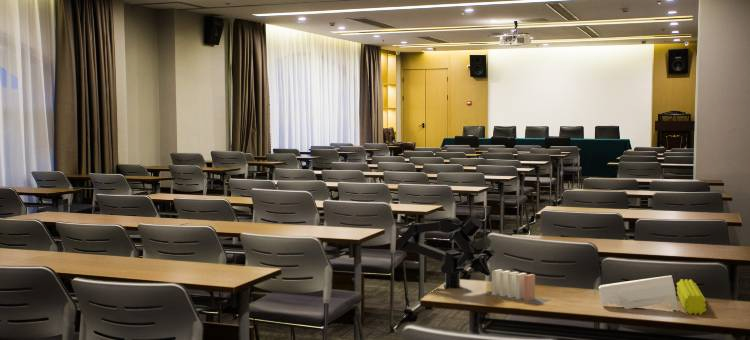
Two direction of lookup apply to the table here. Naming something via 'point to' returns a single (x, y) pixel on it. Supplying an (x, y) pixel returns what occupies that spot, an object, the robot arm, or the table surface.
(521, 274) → the tile
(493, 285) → the tile
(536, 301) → the grey serrated plate
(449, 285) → the robot arm
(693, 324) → the table surface
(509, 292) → the tile
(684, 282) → the decorative object
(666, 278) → the shelf bracket
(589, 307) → the table surface
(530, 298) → the tile end
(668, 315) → the table surface
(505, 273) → the tile
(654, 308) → the table surface
